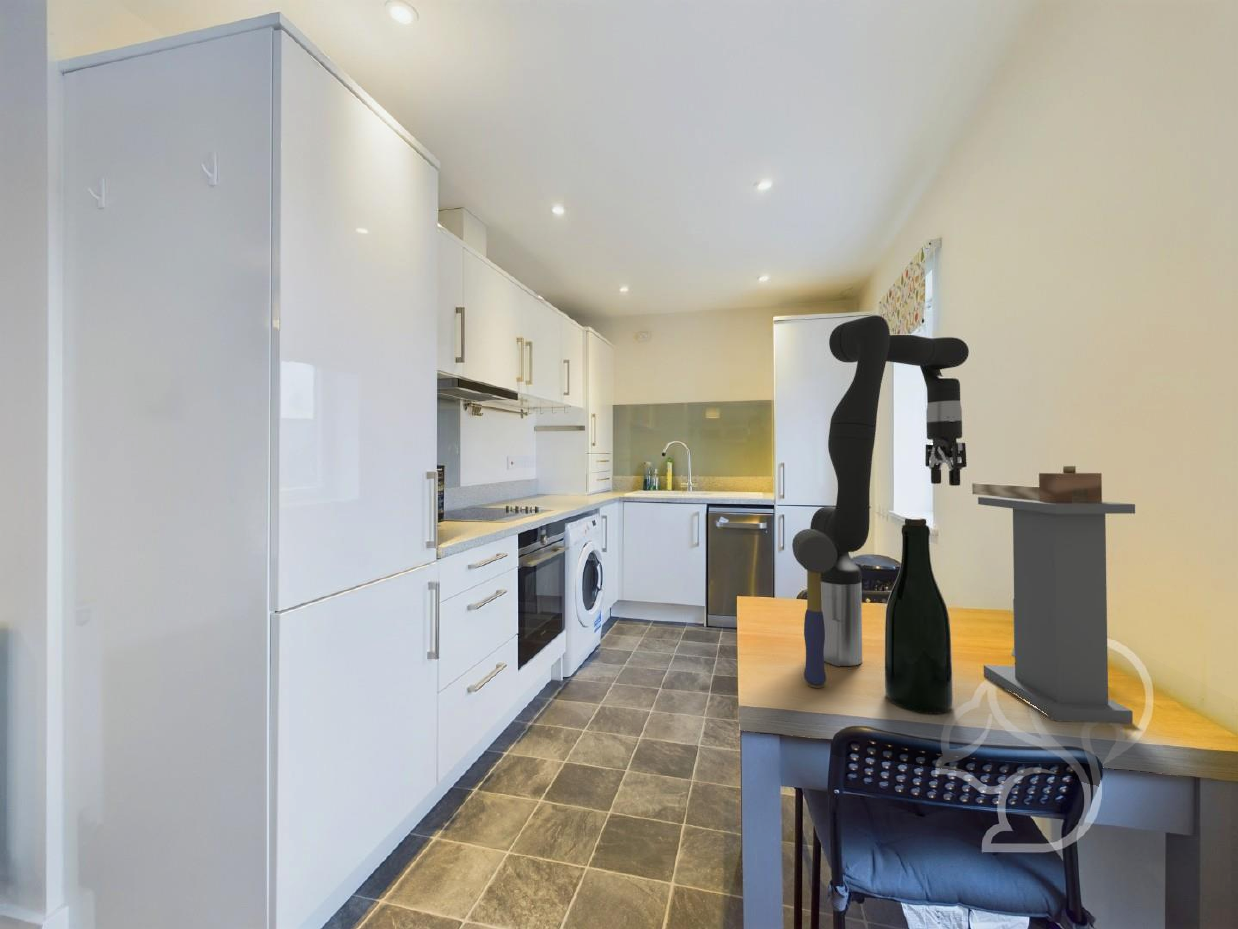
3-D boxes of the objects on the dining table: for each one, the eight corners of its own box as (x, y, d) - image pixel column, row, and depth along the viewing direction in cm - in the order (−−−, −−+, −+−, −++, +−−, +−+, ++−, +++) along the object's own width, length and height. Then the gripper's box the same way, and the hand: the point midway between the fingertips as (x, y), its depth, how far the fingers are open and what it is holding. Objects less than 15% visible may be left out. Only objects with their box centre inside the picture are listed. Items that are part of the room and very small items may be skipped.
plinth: (1138, 726, 80) (1135, 504, 80) (1058, 723, 81) (1055, 504, 81) (1043, 674, 100) (1041, 496, 100) (980, 673, 101) (978, 497, 101)
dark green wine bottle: (944, 693, 92) (942, 515, 93) (960, 720, 83) (957, 521, 83) (881, 685, 96) (878, 514, 96) (889, 710, 86) (886, 520, 86)
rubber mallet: (842, 702, 89) (839, 535, 89) (797, 698, 91) (795, 534, 91) (830, 674, 101) (828, 527, 101) (791, 671, 103) (789, 526, 103)
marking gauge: (1101, 502, 84) (1101, 465, 84) (1057, 503, 84) (1056, 466, 84) (994, 493, 110) (994, 466, 110) (961, 494, 111) (961, 466, 111)
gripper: (914, 422, 133) (915, 483, 133) (943, 418, 119) (944, 486, 119) (944, 421, 132) (945, 482, 132) (977, 417, 118) (978, 485, 118)
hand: (945, 484), depth 125 cm, fingers open, 8 cm apart
